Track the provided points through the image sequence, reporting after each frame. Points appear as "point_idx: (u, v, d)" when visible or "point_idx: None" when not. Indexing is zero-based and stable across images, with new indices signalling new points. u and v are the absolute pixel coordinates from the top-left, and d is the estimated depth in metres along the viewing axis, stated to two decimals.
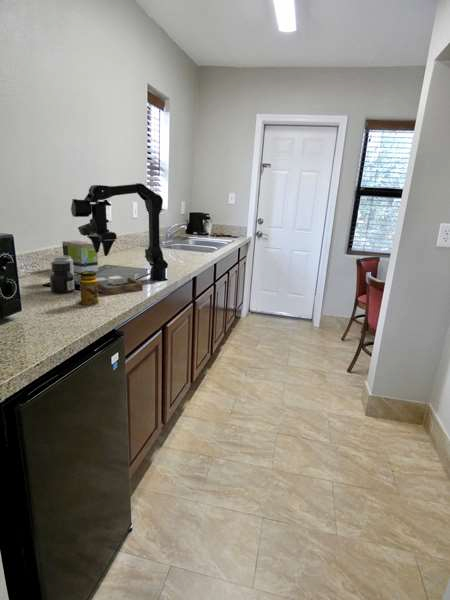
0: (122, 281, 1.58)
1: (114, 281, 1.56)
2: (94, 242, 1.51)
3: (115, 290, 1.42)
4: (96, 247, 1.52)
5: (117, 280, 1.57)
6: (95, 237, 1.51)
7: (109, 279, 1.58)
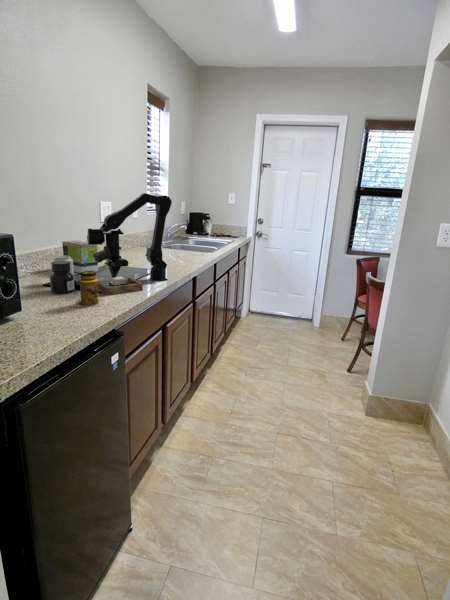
0: (124, 282, 1.58)
1: (116, 282, 1.55)
2: None
3: (115, 290, 1.42)
4: None
5: (119, 281, 1.56)
6: None
7: (111, 280, 1.57)
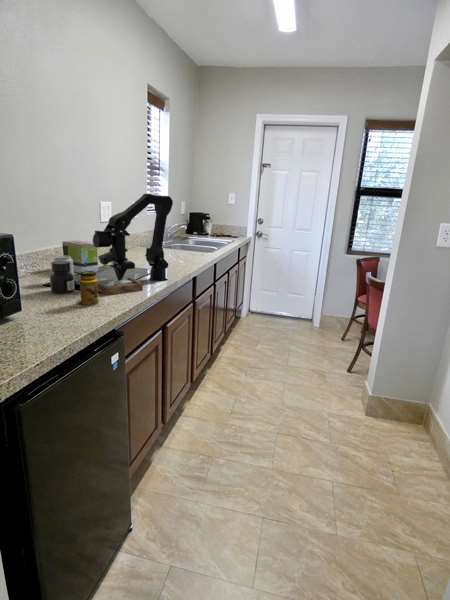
0: None
1: None
2: None
3: (115, 290, 1.42)
4: None
5: (127, 284, 1.52)
6: None
7: (118, 283, 1.53)
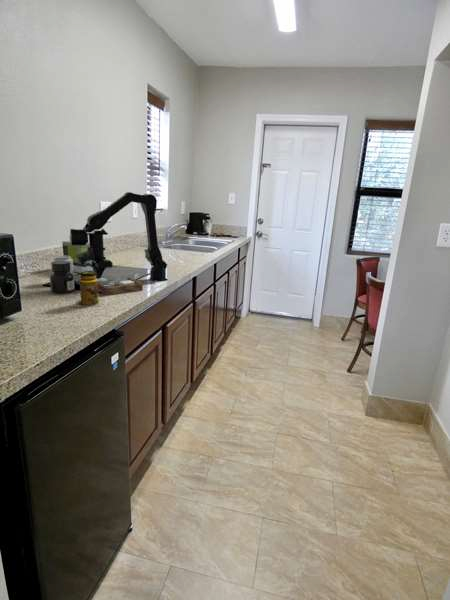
0: None
1: None
2: None
3: (115, 290, 1.42)
4: None
5: (128, 284, 1.50)
6: None
7: (120, 283, 1.52)
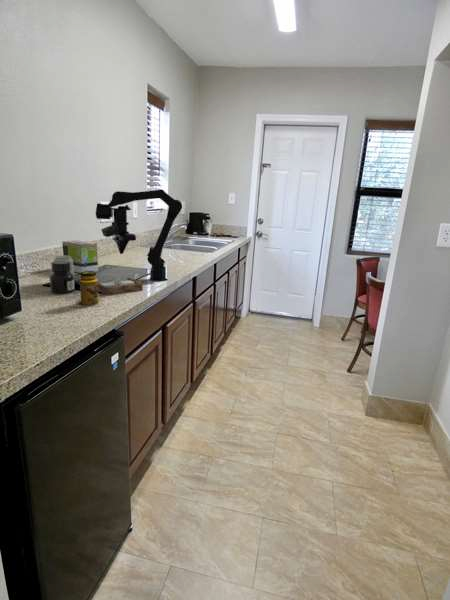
0: None
1: None
2: None
3: (115, 290, 1.42)
4: None
5: None
6: None
7: (120, 283, 1.52)
